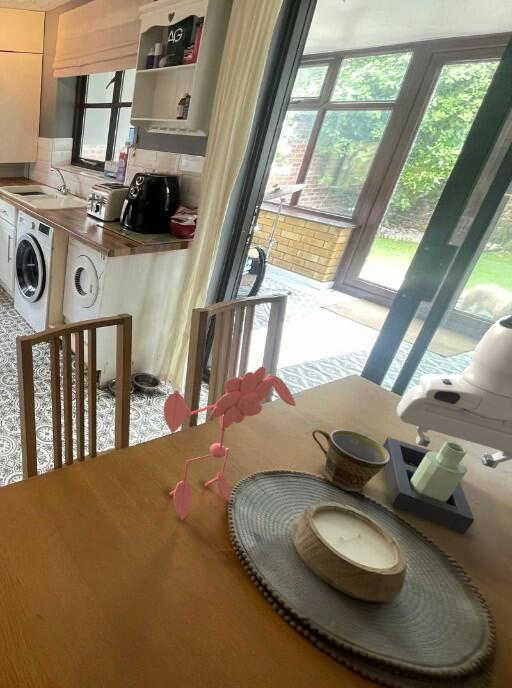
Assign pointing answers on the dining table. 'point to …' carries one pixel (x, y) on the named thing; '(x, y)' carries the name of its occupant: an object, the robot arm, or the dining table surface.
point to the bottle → (440, 472)
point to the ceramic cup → (352, 458)
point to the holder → (403, 498)
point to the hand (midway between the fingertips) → (453, 454)
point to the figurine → (223, 422)
